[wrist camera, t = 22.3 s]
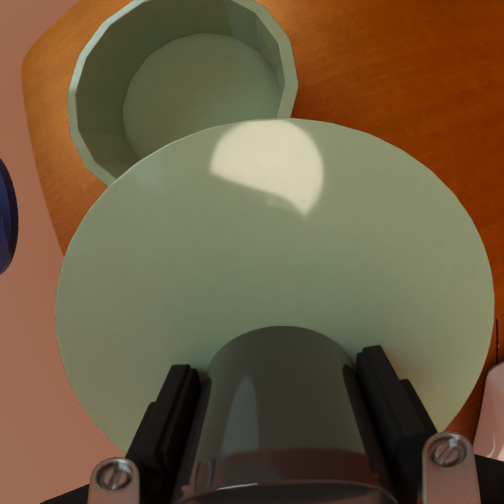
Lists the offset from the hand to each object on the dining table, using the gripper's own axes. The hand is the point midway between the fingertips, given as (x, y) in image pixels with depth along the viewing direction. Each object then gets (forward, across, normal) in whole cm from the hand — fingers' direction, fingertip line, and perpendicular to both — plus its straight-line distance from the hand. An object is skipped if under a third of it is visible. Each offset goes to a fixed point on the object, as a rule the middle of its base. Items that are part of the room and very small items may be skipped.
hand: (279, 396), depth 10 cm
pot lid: (+1, 0, 0) cm, 1 cm away
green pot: (+20, +5, -13) cm, 24 cm away
